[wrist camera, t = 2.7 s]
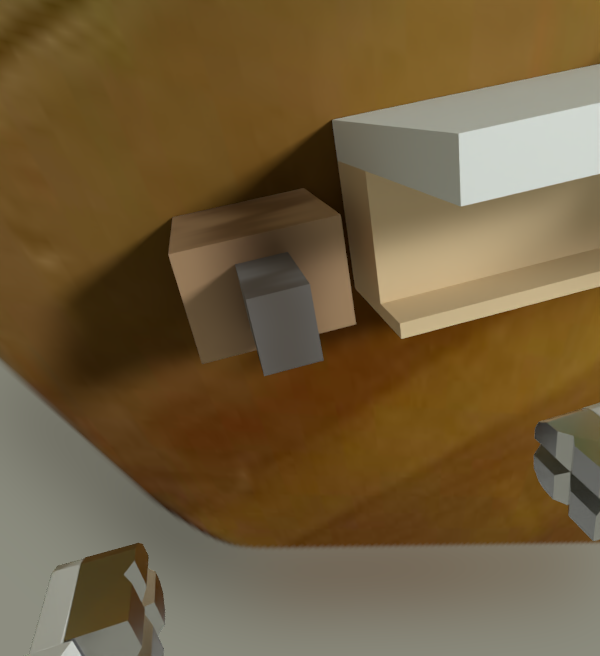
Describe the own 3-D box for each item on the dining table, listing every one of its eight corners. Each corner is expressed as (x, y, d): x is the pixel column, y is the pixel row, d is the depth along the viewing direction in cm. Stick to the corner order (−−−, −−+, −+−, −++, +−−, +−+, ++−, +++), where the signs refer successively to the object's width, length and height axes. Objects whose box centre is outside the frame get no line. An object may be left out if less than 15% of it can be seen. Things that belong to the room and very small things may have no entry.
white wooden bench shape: (614, 60, 27) (941, 27, 15) (598, 227, 31) (847, 301, 19) (331, 119, 25) (458, 133, 13) (355, 288, 29) (467, 410, 17)
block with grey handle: (303, 187, 26) (374, 239, 16) (319, 278, 28) (389, 371, 19) (172, 217, 25) (164, 289, 16) (199, 308, 28) (206, 420, 18)
